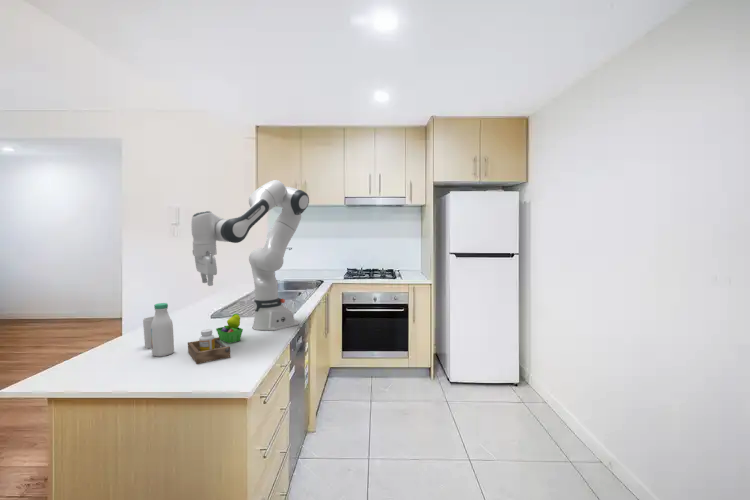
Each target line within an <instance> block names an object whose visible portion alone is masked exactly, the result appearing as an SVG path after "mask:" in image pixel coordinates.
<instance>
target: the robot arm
mask: <svg viewBox="0 0 750 500" xmlns="http://www.w3.org/2000/svg"><path fill="white" fill-rule="evenodd" d="M309 196H310V195H308V193H307V192H306V191H304V190H301V189H297V188H295V187H293V186H285V184H284V183H283V182H282V181H281V180H278V179H273V180H270V181H268V182H265V183H264V184H262V185H261V186H260V187H258V188H257V189H255V190H254V191H253V192H252V193H251V194H250V195H249V196H248V205H249V208H248V209H247V210H246V211H245V212H243V214H241V215H240V216H238V217H234V218H223V217H220V216H218V215H216V214H214V213H213V212H212V211H210V210H207V211H201V212H200V211H199V212H196V213H194V214H193V215H192V217H191V223H190V224H191V225H190V226H191V235H192V239H193V241H192V256H193V257H194V261H195V262H194V263H195V268H196V271H197V272H198V273H200V276H201V283H202V284H207V286H208V287H212V286H213V285H214V278H215V277H214V276H217V274H218V267H217V260H216V257H215V256H216V255H217V252H218V251H217V242H224V243H226V242H227V243H228V242H230V243H234V244H238V243H241V242H243V241H244V240H245V239H246V238H247V236H248V234H249V231H250V230H251V229H252V228H253V227H254V225H256V223H258V222H259V221H260V220H261V219H262V218H263V217H264V216H265V215H266V214H267V213H268V212H270V211H271V210H272V209H273V208H275V207H280V208H281V213H280V214H279V215H278V217H277V218H276V219H275V222H274V223H273V224H272V226H271V228H270V230H269V231H268V232H267V236H266V237H267V239H266V241H265V244H264V246H263V248H262V247H259V248H255V249H254V250H253V251H251V253H250V254H249V255H248V262H249V264H250V268H251V273H252V278H253V281H254V282H253V283H254V301H253V308H254V309H253V310H254V319H253V323H252V329H254V330H257V331H278V330H283V329H286V328H290V327H296V326H298V325H299V321H298V320H296V319H295V317H294V313H293V312H292V310H290V309H289V308H287V307H286V306H285V305H283V304H285V303H286V299H284V298H280V297H279V286H278V285H279V283H278V280H277V278H276V274H275V272H276V271H278V270H280V269H282V267H283V265H284V258H285V254H286V250H287V247H288V245H289V243H290V241H291V239H292V238H293V236H294V234H295V233H296V230H297V229H298V226H299V224H300V222H301V219H302V214H303V213H304V212H305V210H306V209H307V208H308V206H309V204H310V197H309Z"/></svg>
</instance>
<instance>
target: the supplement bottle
mask: <svg viewBox="0 0 750 500" xmlns="http://www.w3.org/2000/svg"><path fill="white" fill-rule="evenodd" d="M200 335H201V336H200V337H199V340H198V341H200V351H206V350H211V349H216V348H215V340H214V338H215V335H214V334H213V329H211V328H208V329H202V330H201V331H200ZM200 351H199V352H200Z"/></svg>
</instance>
